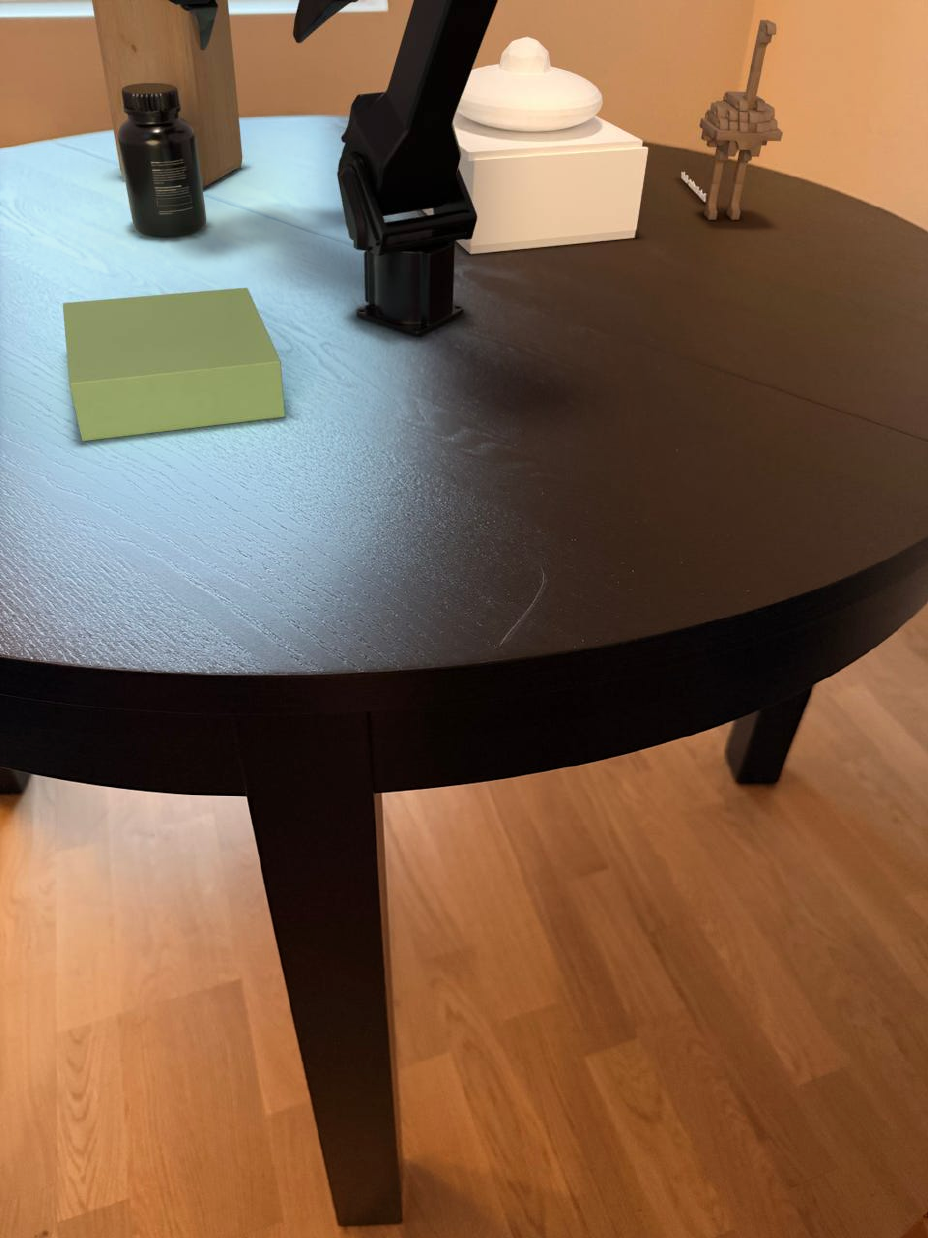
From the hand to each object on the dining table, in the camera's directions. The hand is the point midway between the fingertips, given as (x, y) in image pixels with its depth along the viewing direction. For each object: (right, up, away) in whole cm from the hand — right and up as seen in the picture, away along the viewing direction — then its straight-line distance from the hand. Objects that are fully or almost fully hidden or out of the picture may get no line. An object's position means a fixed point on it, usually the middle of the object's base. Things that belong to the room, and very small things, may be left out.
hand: (249, 42), depth 89 cm
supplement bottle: (-9, -15, +6) cm, 18 cm away
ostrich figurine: (+45, -7, +19) cm, 49 cm away
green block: (-1, -35, -19) cm, 40 cm away
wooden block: (-11, -3, +19) cm, 22 cm away
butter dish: (+24, -11, +12) cm, 29 cm away
